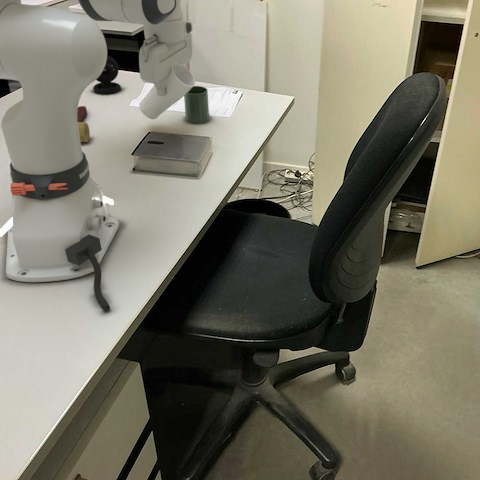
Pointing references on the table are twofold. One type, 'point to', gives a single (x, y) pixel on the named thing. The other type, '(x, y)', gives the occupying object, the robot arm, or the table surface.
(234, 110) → the table surface
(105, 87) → the webcam
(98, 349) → the table surface
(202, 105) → the tin
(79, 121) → the gavel
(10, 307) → the table surface
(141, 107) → the drinking glass
